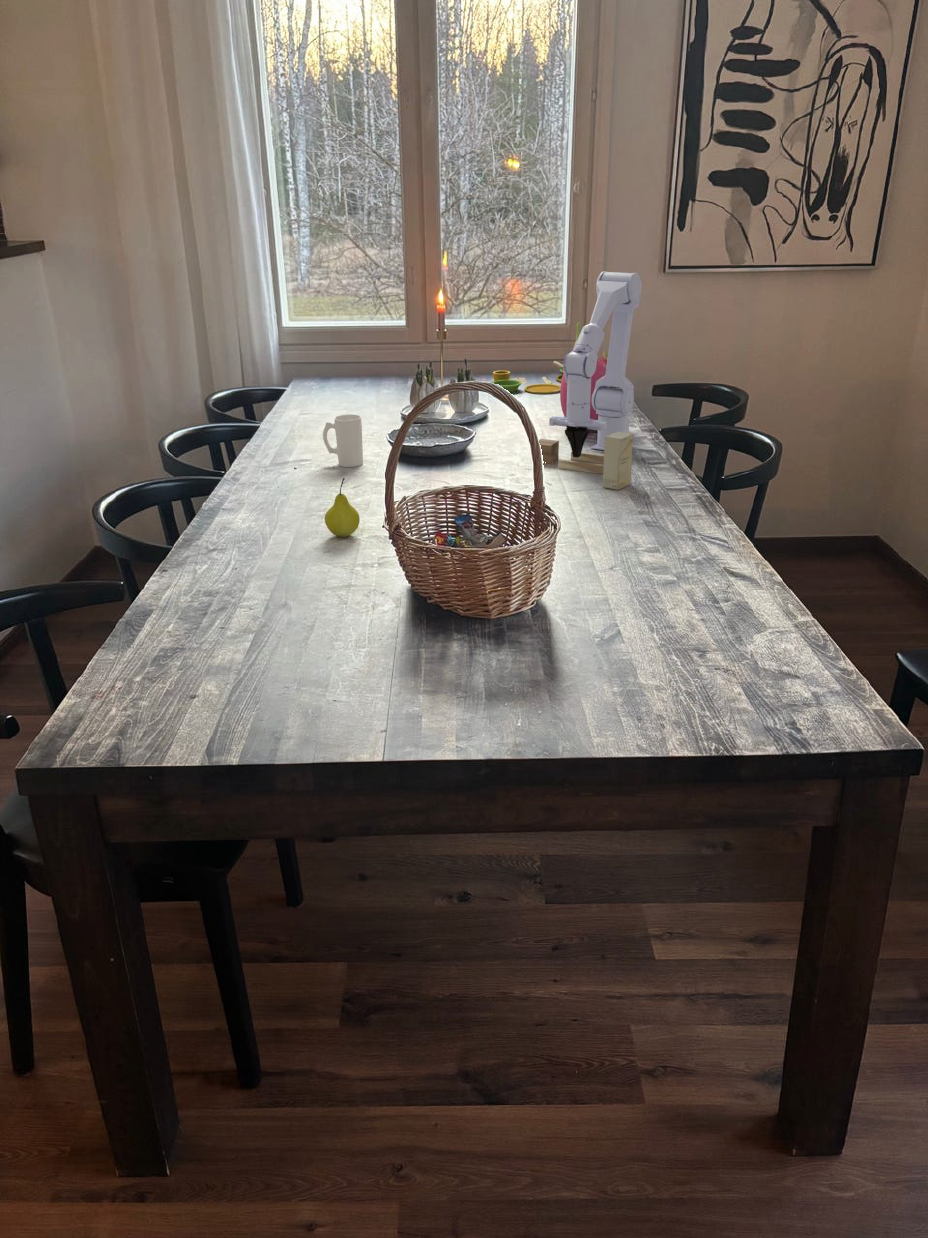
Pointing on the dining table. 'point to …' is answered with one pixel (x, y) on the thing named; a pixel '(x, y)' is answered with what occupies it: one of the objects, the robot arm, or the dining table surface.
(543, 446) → the block
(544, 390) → the tableware set
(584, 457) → the light wooden stepped bars
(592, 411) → the pitaya
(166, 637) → the dining table surface
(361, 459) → the mug
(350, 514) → the fruit
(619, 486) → the skincare box
